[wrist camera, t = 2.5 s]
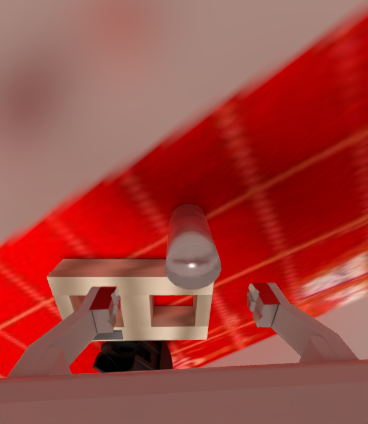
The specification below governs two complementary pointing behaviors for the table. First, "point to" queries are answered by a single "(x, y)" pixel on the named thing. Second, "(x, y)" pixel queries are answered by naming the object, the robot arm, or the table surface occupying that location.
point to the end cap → (133, 356)
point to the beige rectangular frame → (133, 298)
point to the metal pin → (191, 249)
